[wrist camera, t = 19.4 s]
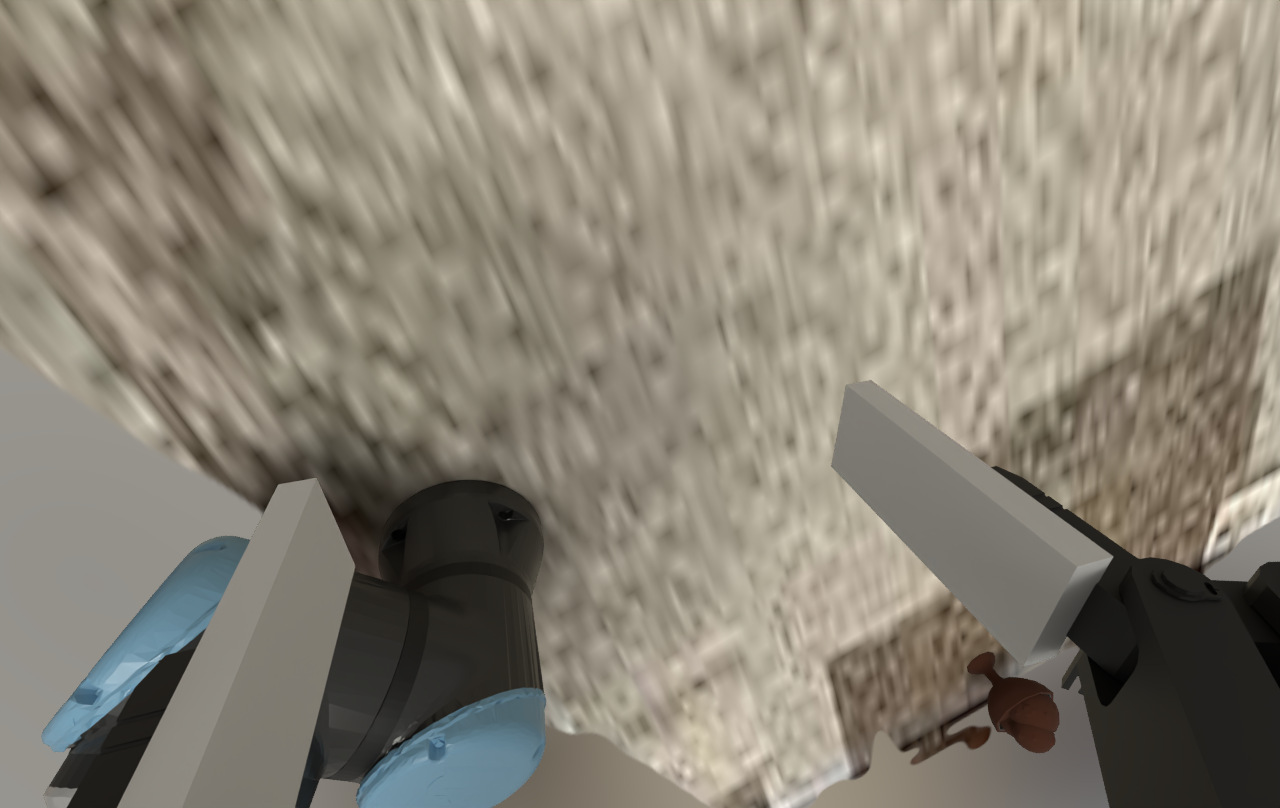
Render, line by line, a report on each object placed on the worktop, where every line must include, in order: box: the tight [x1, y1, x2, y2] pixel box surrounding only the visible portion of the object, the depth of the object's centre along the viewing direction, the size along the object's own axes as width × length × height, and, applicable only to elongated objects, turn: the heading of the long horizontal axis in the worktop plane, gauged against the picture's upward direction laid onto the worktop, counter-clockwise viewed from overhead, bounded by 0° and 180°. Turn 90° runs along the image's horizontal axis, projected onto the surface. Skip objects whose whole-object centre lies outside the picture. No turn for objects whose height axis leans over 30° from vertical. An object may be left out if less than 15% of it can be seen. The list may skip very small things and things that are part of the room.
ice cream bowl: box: [967, 652, 1059, 753], centre depth 91 cm, size 11×11×15 cm
